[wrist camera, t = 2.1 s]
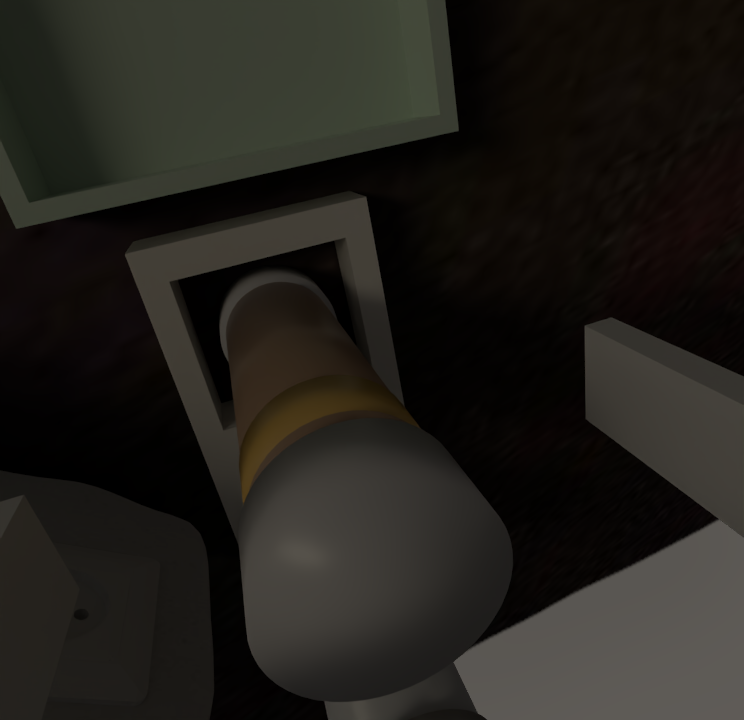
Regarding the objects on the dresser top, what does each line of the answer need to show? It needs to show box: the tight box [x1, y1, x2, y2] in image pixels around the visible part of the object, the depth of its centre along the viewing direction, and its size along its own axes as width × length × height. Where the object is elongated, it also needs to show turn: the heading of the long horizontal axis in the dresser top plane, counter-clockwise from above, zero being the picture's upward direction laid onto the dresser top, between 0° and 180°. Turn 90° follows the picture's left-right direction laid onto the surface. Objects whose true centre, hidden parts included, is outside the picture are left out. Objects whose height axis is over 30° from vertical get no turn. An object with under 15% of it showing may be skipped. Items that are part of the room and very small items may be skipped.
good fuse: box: [324, 662, 487, 720], centre depth 19 cm, size 4×4×15 cm
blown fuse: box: [219, 265, 513, 702], centre depth 15 cm, size 4×4×15 cm
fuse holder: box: [125, 191, 405, 545], centre depth 22 cm, size 8×17×2 cm, turn 11°
